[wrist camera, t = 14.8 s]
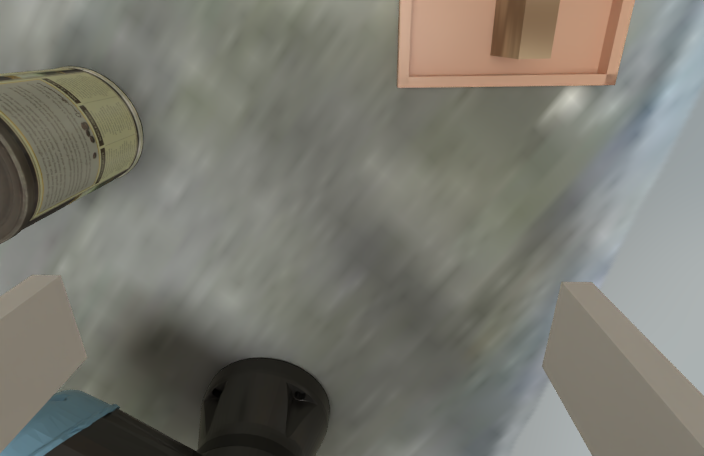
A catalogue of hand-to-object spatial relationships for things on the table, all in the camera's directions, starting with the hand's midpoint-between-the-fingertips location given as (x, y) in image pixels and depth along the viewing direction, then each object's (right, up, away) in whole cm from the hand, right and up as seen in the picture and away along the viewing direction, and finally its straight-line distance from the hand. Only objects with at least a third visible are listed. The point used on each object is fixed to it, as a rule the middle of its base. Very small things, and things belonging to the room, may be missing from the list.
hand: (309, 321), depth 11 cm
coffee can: (-23, +12, +26) cm, 37 cm away
